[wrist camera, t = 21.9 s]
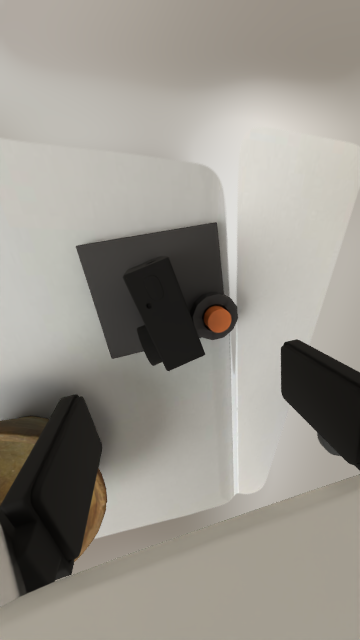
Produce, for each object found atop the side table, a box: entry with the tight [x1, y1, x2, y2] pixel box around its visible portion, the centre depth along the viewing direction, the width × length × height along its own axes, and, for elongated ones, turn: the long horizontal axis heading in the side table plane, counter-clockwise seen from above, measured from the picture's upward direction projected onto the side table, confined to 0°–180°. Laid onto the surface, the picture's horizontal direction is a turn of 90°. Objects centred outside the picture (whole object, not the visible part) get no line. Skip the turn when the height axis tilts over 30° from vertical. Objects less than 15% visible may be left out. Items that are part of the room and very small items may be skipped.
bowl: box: [0, 416, 107, 562], centre depth 25 cm, size 22×23×10 cm
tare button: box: [204, 306, 231, 333], centre depth 25 cm, size 3×3×2 cm
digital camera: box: [123, 256, 205, 371], centre depth 22 cm, size 10×5×7 cm, turn 21°
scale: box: [76, 223, 238, 359], centre depth 25 cm, size 17×14×3 cm
